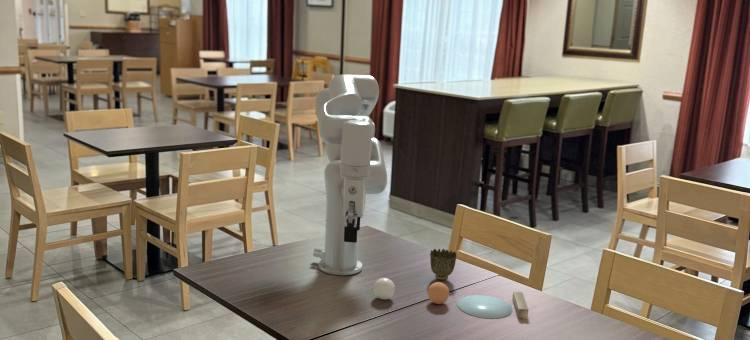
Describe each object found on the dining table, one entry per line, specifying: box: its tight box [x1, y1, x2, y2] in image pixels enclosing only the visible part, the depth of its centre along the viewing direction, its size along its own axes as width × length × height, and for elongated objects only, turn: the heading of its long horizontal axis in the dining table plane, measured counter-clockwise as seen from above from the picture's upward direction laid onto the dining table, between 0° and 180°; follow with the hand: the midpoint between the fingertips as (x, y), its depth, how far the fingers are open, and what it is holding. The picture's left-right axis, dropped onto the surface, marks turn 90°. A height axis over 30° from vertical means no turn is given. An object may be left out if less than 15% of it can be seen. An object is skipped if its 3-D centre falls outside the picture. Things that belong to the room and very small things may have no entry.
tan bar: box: [512, 291, 529, 320], centre depth 176 cm, size 2×11×2 cm, turn 176°
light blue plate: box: [456, 294, 513, 320], centre depth 177 cm, size 14×14×1 cm
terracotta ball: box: [427, 281, 450, 305], centre depth 177 cm, size 6×6×6 cm
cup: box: [429, 248, 457, 282], centre depth 193 cm, size 8×7×8 cm
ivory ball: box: [373, 277, 396, 300], centre depth 178 cm, size 6×6×6 cm
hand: (351, 235), depth 175 cm, fingers open, 9 cm apart
